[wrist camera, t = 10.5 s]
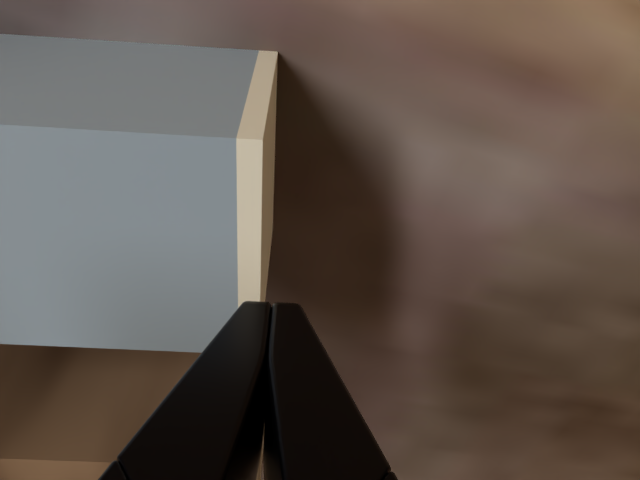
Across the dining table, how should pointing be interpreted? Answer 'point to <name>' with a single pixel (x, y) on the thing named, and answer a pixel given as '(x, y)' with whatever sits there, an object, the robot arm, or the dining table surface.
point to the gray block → (132, 190)
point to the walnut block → (78, 406)
